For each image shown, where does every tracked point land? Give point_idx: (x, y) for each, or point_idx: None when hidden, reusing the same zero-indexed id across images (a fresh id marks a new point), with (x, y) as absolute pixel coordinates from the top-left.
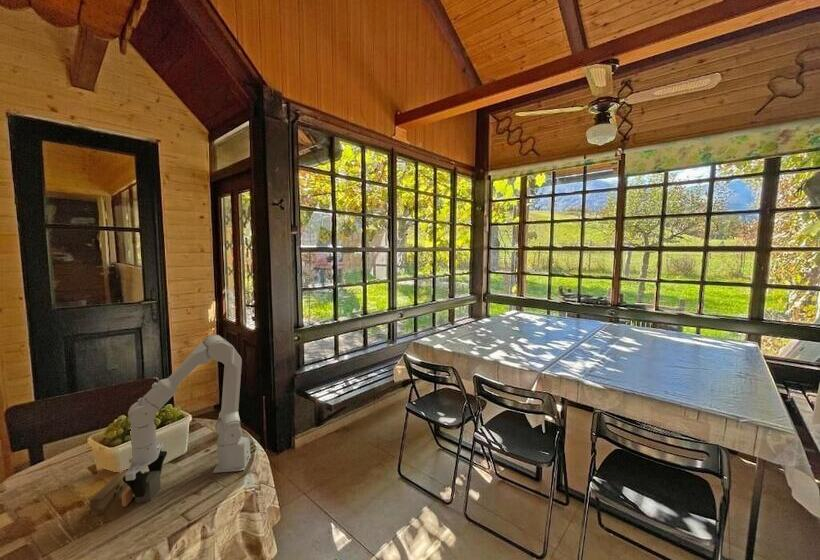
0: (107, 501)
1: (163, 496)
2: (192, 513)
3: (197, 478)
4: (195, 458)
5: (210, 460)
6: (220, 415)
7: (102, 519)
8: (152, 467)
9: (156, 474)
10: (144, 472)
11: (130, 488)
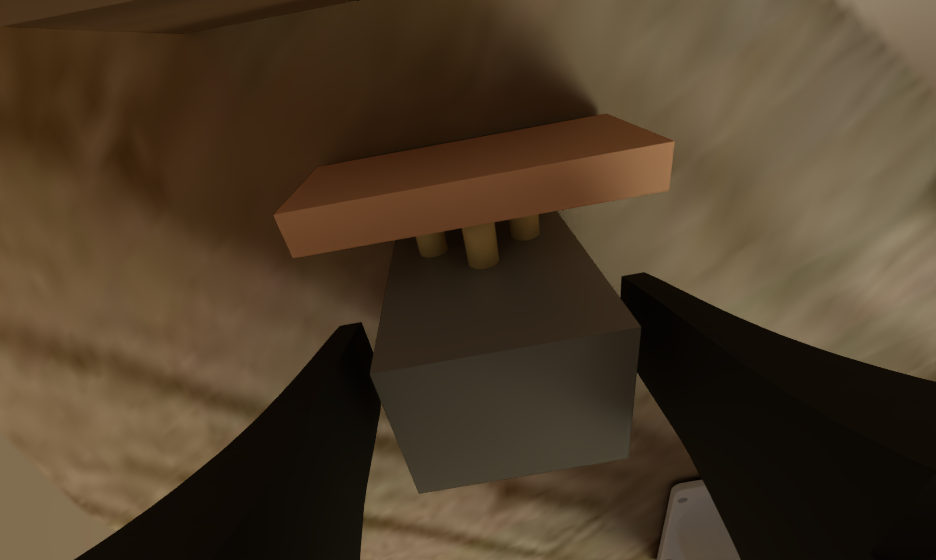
0: (209, 14)
1: None
2: (368, 543)
3: (640, 441)
4: (916, 313)
5: None
6: None
7: (128, 100)
8: (705, 389)
9: (563, 460)
10: (617, 337)
11: (408, 231)
